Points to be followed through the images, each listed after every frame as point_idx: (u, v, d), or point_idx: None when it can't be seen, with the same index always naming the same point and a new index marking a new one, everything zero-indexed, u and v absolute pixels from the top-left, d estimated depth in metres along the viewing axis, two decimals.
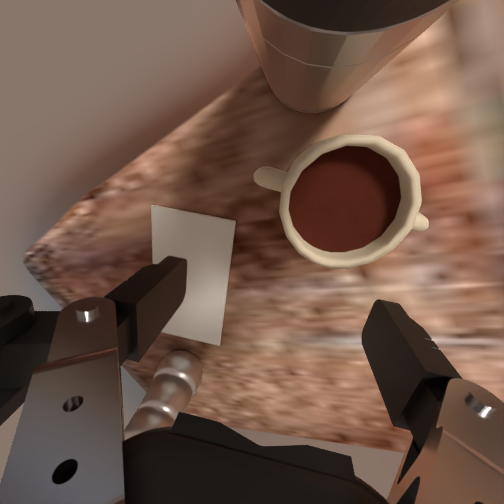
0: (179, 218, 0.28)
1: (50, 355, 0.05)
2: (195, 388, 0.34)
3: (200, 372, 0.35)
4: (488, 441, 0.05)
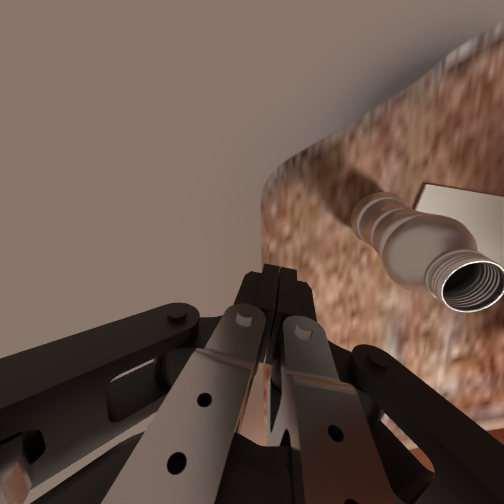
0: None
1: (209, 342, 0.06)
2: None
3: None
4: (316, 359, 0.06)
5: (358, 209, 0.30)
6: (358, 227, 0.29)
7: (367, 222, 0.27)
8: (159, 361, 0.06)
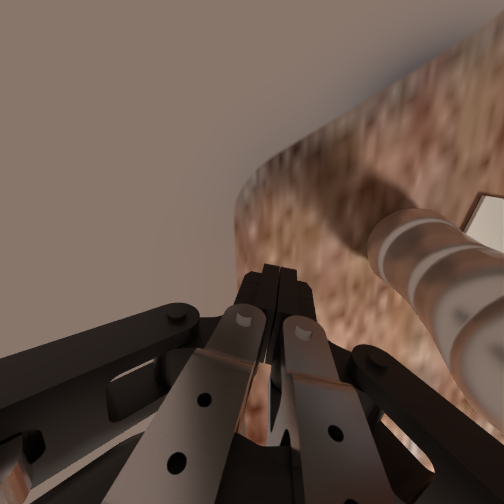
0: None
1: (209, 342, 0.06)
2: None
3: None
4: (316, 359, 0.06)
5: (380, 236, 0.19)
6: (380, 265, 0.19)
7: (400, 263, 0.16)
8: (159, 361, 0.06)
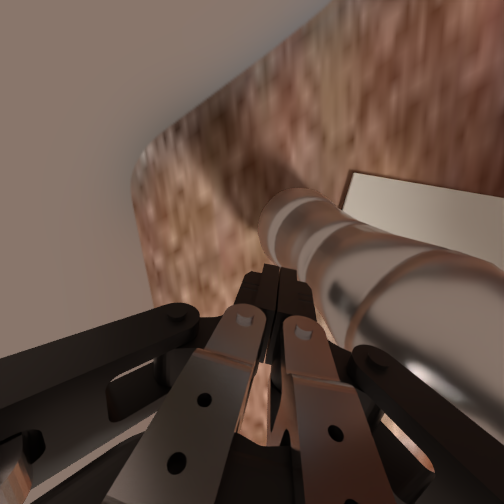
0: None
1: (209, 342, 0.06)
2: None
3: None
4: (316, 359, 0.06)
5: (268, 220, 0.18)
6: (272, 251, 0.17)
7: (289, 247, 0.15)
8: (159, 361, 0.06)
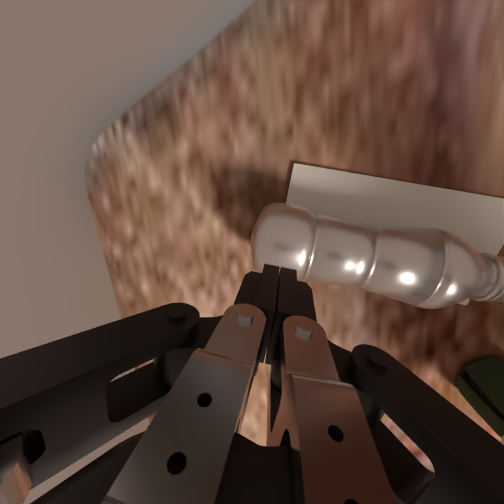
0: (493, 240, 0.21)
1: (209, 342, 0.06)
2: None
3: None
4: (315, 359, 0.06)
5: (292, 263, 0.18)
6: (302, 279, 0.19)
7: (336, 274, 0.18)
8: (159, 361, 0.06)
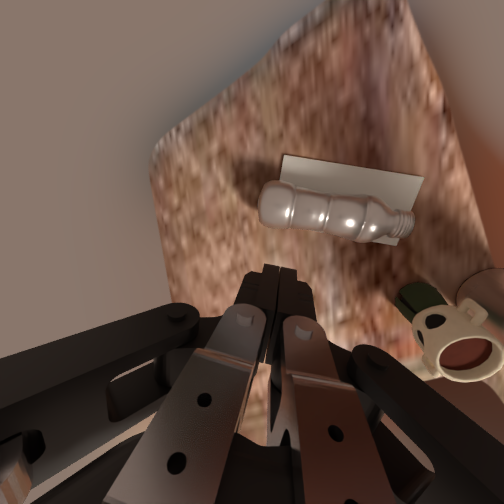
0: (407, 201, 0.34)
1: (209, 342, 0.06)
2: None
3: None
4: (316, 359, 0.06)
5: (281, 215, 0.31)
6: (288, 226, 0.32)
7: (307, 222, 0.31)
8: (159, 361, 0.06)
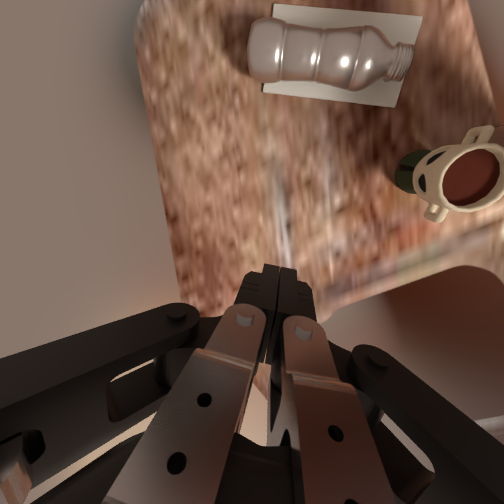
0: None
1: (209, 342, 0.06)
2: None
3: None
4: (315, 359, 0.06)
5: (271, 47, 0.29)
6: (279, 68, 0.30)
7: (299, 56, 0.29)
8: (159, 361, 0.06)
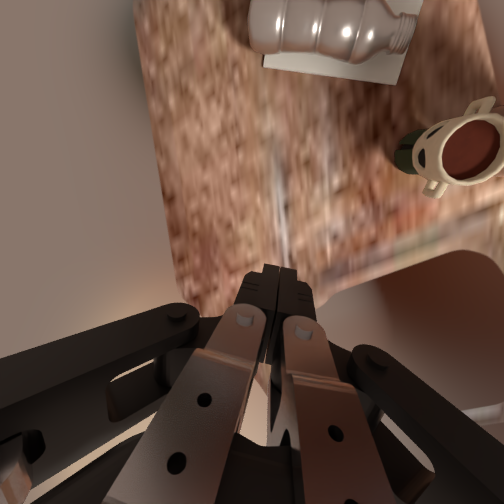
0: None
1: (209, 342, 0.06)
2: (277, 53, 0.33)
3: None
4: (315, 359, 0.06)
5: (273, 11, 0.28)
6: (280, 35, 0.30)
7: (301, 22, 0.29)
8: (159, 361, 0.06)
